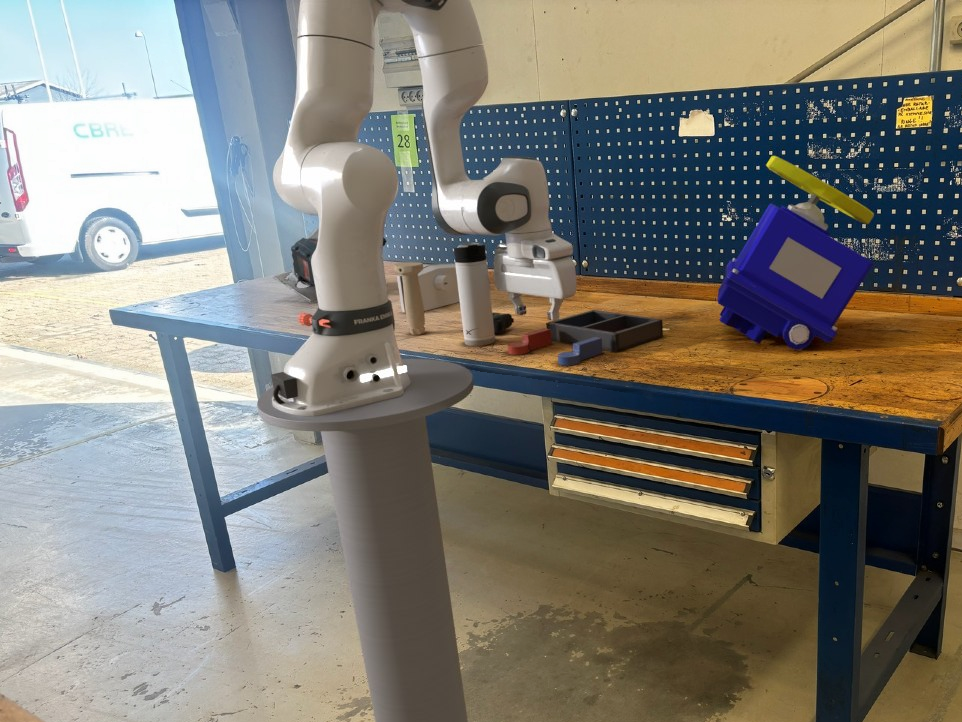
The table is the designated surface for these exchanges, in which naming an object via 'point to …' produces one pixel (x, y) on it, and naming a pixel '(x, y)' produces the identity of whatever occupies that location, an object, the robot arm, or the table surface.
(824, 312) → the control box
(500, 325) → the tape measure
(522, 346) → the red stepped block
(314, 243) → the circular saw
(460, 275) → the travel mug
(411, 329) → the handle
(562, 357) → the blue stepped block
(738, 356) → the table surface
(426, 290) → the lock
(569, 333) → the sorting tray
